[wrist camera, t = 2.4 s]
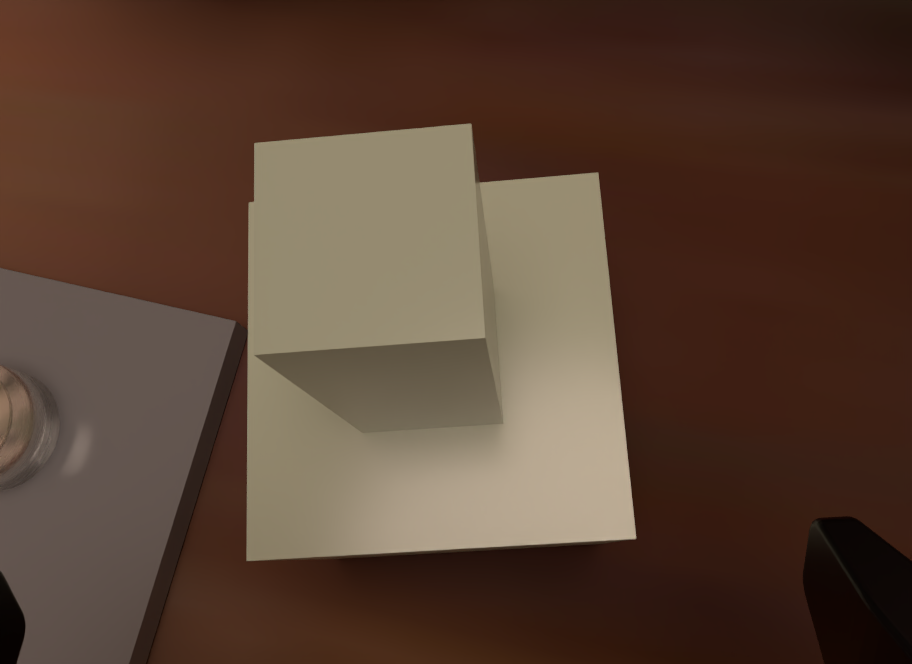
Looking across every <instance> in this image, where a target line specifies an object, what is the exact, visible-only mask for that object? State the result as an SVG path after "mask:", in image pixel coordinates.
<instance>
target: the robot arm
mask: <svg viewBox="0 0 912 664" xmlns="http://www.w3.org/2000/svg"><path fill="white" fill-rule="evenodd" d="M803 585H804V591H805V596H806V600H807V603H808V607H809V610H810V614H811V617H812V621H813V625H814V628H815V632H816V635H817V639H818V642H819V646H820V650H821V653H822V657H823V660H824V664H912V561H911V560H910V559H908V558H907V557H906V556H904V555H903V554H902V553H900V552H899V551H898V550H897V549H895V548H894V547H893V546H891V545H890V544H889V543H888V542H886V541H885V540H884V539H882V538H881V537H880V536H878V535H877V534H876V533H875V532H873V531H872V530H871V529H869V528H868V527H867V526H866V525H864V524H863V523H862V522H860V521H859V520H857V519H855V518H853V517H848V516H846V517H828V518H818V519H816V520H814V521H813V522H812V524H811V526H810V530H809V537H808V543H807V550H806V557H805V563H804V570H803ZM25 629H26V624H25V617H24V614H23V612H22V610H21V608H20V606H19V604H18V602H17V600H16V598H15V596H14V594H13V592H12V590H11V588H10V586H9V584H8V582H7V581H6V579H5V577H4V575H3V573H2V572H1V571H0V664H17V661H18V657H19V654H20V651H21V647H22V644H23V641H24V636H25Z"/></svg>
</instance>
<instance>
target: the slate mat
mask: <svg viewBox="0 0 912 664" xmlns="http://www.w3.org/2000/svg"><path fill="white" fill-rule="evenodd" d="M247 335H248V330H246V329H245V328H244V327H243V326H241V325H240V324H239V323H238V322H236V321H232V320H228V319H224V318H219V317H215V316H210V315H206V314H201V313H197V312H193V311H188V310H184V309H179V308H175V307H170V306H166V305H162V304H157V303H153V302H148V301H144V300H139V299H135V298H131V297H126V296H122V295H117V294H113V293H108V292H104V291H99V290H95V289H91V288H86V287H82V286H77V285H73V284H68V283H64V282H60V281H55V280H51V279H46V278H42V277H37V276H33V275H29V274H24V273H20V272H15V271H11V270H6V269H2V268H0V365H2V366H5V367H8V368H11V369H14V370H16V371H19V372H22V373H25V374H28V375H30V376H32V377H34V378H36V379H37V380H39V381H40V382H42V383H43V384H44V385H45V386H46V387H47V388H48V390H49V391H50V392H51V394H52V396H53V397H54V399H55V402H56V404H57V407H58V412H59V419H60V425H59V434H58V439H57V442H56V445H55V448H54V450H53V452H52V454H51V456H50V458H49V460H48V461H47V462H46V464H45V465H44V466H43V467H42V469H41V470H40V471H39V472H38V473H37V474H36V475H34V476H33V477H32V478H31V479H29V480H28V481H26V482H25V483H23V484H21V485H19V486H17V487H14V488H12V489H8V490H4V491H0V571H1V572H2V573H3V575H4V577H5V579H6V581H7V582H8V584H9V586H10V588H11V590H12V592H13V594H14V596H15V598H16V600H17V602H18V604H19V606H20V608H21V610H22V612H23V614H24V617H25V624H26V629H25V636H24V641H23V644H22V647H21V651H20V654H19V657H18V661H17V664H146V662H147V659H148V656H149V652H150V649H151V646H152V643H153V639H154V636H155V633H156V630H157V626H158V623H159V620H160V617H161V613H162V610H163V607H164V604H165V601H166V597H167V594H168V591H169V588H170V584H171V581H172V578H173V575H174V571H175V568H176V565H177V562H178V558H179V555H180V552H181V549H182V545H183V542H184V539H185V536H186V532H187V529H188V526H189V523H190V519H191V516H192V513H193V510H194V506H195V503H196V500H197V497H198V493H199V490H200V487H201V484H202V481H203V477H204V474H205V471H206V468H207V464H208V461H209V458H210V455H211V451H212V448H213V445H214V442H215V438H216V435H217V432H218V429H219V425H220V422H221V419H222V416H223V412H224V409H225V406H226V403H227V399H228V396H229V393H230V390H231V386H232V383H233V380H234V377H235V373H236V370H237V367H238V364H239V361H240V357H241V354H242V351H243V348H244V344H245V341H246V338H247Z"/></svg>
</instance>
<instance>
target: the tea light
mask: <svg viewBox="0 0 912 664" xmlns="http://www.w3.org/2000/svg"><path fill="white" fill-rule="evenodd" d="M59 425H60V419H59V412H58V407H57V404H56V402H55V399H54V397H53V396H52V394H51V392H50V391H49V390H48V388H47V387H46V386H45V385H44V384H43V383H42V382H40V381H39V380H37V379H36V378H34V377H32V376H30V375H28V374H25V373H22V372H19V371H16V370H14V369H11V368H8V367H5V366H2V365H0V491H4V490H8V489H12V488H14V487H17V486H19V485H21V484H23V483H25V482H26V481H28V480H29V479H31V478H32V477H33V476H34V475H36V474H37V473H38V472H39V471H40V470H41V469H42V467H43V466H44V465H45V464H46V462H47V461H48V460H49V458H50V456H51V454H52V452H53V450H54V448H55V445H56V442H57V439H58V434H59Z"/></svg>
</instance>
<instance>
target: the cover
mask: <svg viewBox="0 0 912 664" xmlns="http://www.w3.org/2000/svg"><path fill="white" fill-rule="evenodd" d="M632 539H636V532H635V522H634V513H633V503H632V493H631V484H630V474H629V465H628V455H627V445H626V436H625V426H624V416H623V407H622V397H621V388H620V378H619V368H618V359H617V349H616V340H615V330H614V320H613V311H612V301H611V292H610V282H609V272H608V263H607V253H606V244H605V234H604V224H603V215H602V205H601V196H600V186H599V176H598V173H588V174H576V175H564V176H553V177H541V178H529V179H518V180H506V181H494V182H483V183H480V182H479V175H478V168H477V161H476V153H475V146H474V139H473V132H472V125H471V124H461V125H450V126H439V127H428V128H417V129H406V130H394V131H383V132H372V133H361V134H350V135H339V136H328V137H317V138H306V139H295V140H284V141H273V142H261V143H254V202H249V240H248V409H247V561H273V560H311V559H343V558H361V557H378V556H396V555H414V554H431V553H449V552H466V551H484V550H501V549H519V548H536V547H554V546H572V545H589V544H604V543H611V542H618V541H625V540H632Z"/></svg>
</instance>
